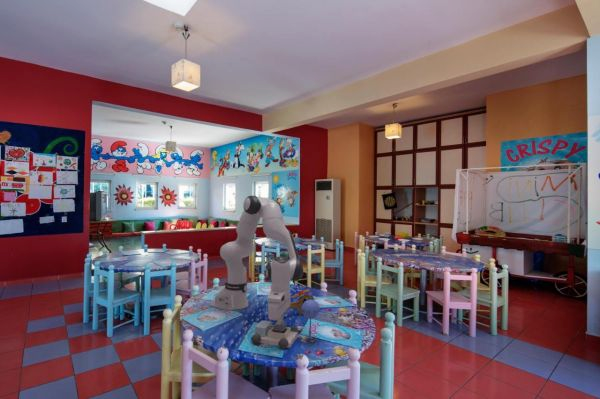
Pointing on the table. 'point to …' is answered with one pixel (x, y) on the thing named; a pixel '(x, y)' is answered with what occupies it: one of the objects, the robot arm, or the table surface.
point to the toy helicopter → (300, 300)
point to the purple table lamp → (310, 311)
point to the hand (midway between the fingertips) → (280, 322)
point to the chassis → (274, 335)
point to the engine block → (279, 327)
